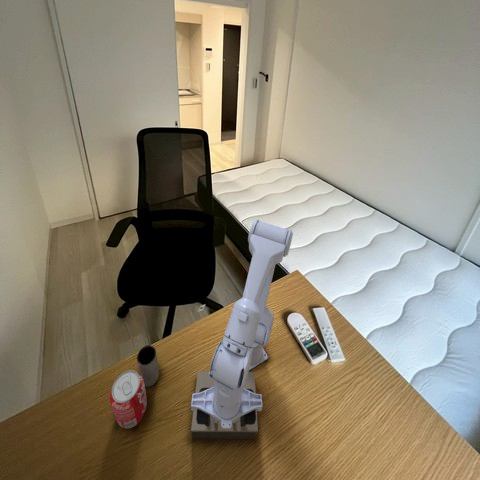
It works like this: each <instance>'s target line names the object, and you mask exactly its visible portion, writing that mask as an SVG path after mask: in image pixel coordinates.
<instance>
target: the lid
mask: <svg viewBox="0 0 480 480" xmlns="http://www.w3.org/2000/svg"><path fill="white" fill-rule="evenodd" d="M195 382H196V383H195V392H194V393H199V391H200V390H201V389H202V388H212V387H214V380H213V379H212V378H210V377H209V371H206V370H205V371H200V370H199V371H197V375H196V381H195ZM243 388H244V389H252V390H253V391H254V393H255V394H257V392H256V390H257V389H256V374H255V372H254V371H249V372H248V376H247V379H246V382H245V385H244V387H243ZM196 417H197V409H196V410H195V411H192V420H191V427H190V432H191V433H192V432H257V433H258V432H259V425H258V424H259V423H258V411H257V410H256V421H255V423H254V424H253V425H245V426H243V427H242V426H240V417H239V418H237V419H235V420H233V421H232V427H231V429H222V427H221V421H220V420H219V419H217V418H215V417H213V416H211V415H210V423H209V426H206V425H205V424H197V420H196ZM223 426H224V425H223ZM229 426H230V425H229Z"/></svg>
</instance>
